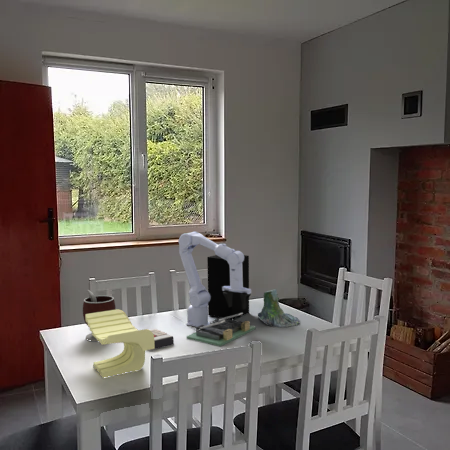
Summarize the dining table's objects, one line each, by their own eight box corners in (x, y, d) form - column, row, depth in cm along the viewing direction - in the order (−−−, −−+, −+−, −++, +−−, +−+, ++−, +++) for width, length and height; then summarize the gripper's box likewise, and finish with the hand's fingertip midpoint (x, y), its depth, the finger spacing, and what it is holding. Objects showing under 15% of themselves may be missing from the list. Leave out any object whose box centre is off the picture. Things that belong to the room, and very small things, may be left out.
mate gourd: (122, 336, 215) (121, 292, 213) (95, 344, 205) (93, 298, 203) (102, 329, 225) (101, 286, 223) (75, 337, 215) (73, 292, 213)
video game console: (231, 320, 236) (230, 259, 233) (208, 315, 245) (207, 257, 242) (249, 313, 248) (248, 255, 245) (226, 309, 257) (225, 253, 254)
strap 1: (200, 329, 214) (199, 327, 214) (204, 327, 216) (203, 326, 216) (221, 323, 207) (220, 321, 207) (225, 321, 209) (224, 319, 209)
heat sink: (193, 334, 213) (193, 326, 212) (222, 322, 231) (222, 314, 230) (224, 341, 203) (224, 333, 203) (252, 328, 221) (251, 320, 221)
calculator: (156, 328, 216) (173, 334, 204) (157, 337, 216) (174, 345, 204) (133, 332, 209) (150, 340, 197) (134, 342, 210) (150, 350, 197)
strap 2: (218, 321, 225) (217, 319, 225) (222, 319, 227) (221, 318, 228) (239, 315, 218) (238, 313, 218) (242, 313, 220) (242, 312, 221)
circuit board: (186, 338, 211) (186, 336, 211) (223, 322, 234) (223, 320, 234) (220, 346, 201) (220, 343, 201) (255, 328, 224) (255, 326, 224)
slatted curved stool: (155, 377, 171) (154, 327, 169) (110, 387, 163) (108, 335, 161) (126, 351, 196) (125, 308, 195) (87, 359, 188) (85, 314, 187)
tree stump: (290, 331, 221) (281, 292, 221) (253, 334, 232) (244, 298, 232) (306, 318, 237) (297, 283, 236) (270, 322, 247) (262, 288, 247)
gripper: (254, 278, 218) (255, 307, 219) (228, 275, 226) (229, 303, 228) (246, 280, 212) (246, 311, 214) (219, 277, 221) (220, 307, 222)
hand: (237, 307), depth 220 cm, fingers open, 7 cm apart
